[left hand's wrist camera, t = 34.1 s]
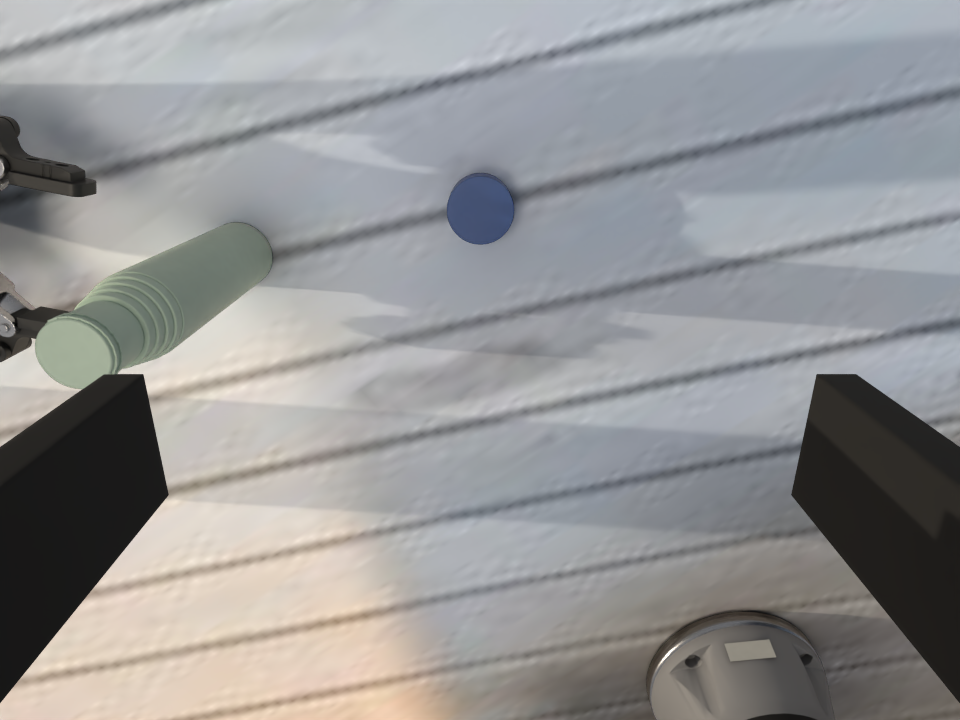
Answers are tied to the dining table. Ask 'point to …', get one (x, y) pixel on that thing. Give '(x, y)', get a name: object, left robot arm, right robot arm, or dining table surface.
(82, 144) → the dining table surface
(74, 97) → the dining table surface
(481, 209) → the cap
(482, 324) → the dining table surface
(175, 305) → the bottle
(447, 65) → the dining table surface
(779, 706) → the left robot arm
